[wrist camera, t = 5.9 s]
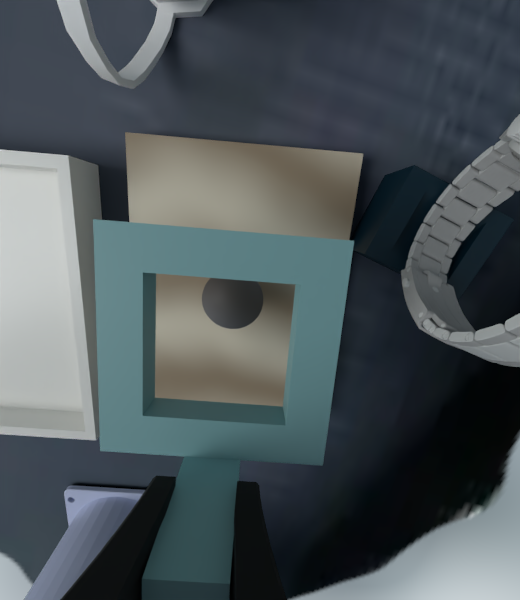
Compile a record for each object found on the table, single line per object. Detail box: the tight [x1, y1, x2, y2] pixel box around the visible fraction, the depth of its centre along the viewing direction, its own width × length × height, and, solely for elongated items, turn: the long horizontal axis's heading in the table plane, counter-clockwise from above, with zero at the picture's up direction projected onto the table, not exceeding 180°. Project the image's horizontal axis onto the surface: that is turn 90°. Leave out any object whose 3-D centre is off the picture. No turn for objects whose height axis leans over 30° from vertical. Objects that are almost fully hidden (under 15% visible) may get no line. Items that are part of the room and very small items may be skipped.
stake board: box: [125, 132, 363, 407], centre depth 16 cm, size 16×12×4 cm
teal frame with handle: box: [93, 219, 354, 600], centre depth 8 cm, size 10×8×5 cm
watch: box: [350, 114, 520, 367], centre depth 11 cm, size 6×8×11 cm
